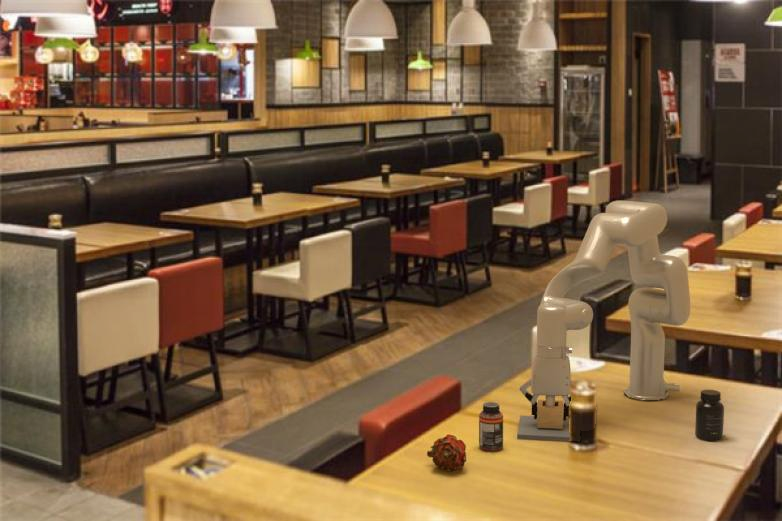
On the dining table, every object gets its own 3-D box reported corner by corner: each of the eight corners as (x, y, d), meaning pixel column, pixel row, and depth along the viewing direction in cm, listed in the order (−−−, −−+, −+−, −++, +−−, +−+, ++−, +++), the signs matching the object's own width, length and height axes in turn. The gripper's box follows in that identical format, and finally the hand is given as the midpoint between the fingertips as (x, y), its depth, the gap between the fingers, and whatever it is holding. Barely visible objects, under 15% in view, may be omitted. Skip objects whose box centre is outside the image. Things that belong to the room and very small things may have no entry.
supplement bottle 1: (486, 442, 253) (486, 399, 252) (507, 447, 250) (508, 403, 248) (474, 449, 248) (474, 405, 247) (495, 454, 245) (496, 409, 243)
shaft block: (580, 422, 269) (581, 385, 267) (581, 442, 253) (582, 403, 252) (520, 419, 271) (520, 383, 270) (517, 438, 256) (517, 400, 254)
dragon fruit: (453, 484, 230) (439, 473, 241) (481, 460, 231) (465, 450, 243) (430, 456, 228) (417, 446, 240) (459, 432, 230) (444, 423, 242)
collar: (562, 420, 265) (563, 400, 264) (562, 428, 258) (563, 408, 258) (537, 419, 266) (538, 399, 265) (537, 427, 259) (537, 407, 259)
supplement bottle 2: (690, 433, 259) (692, 388, 258) (716, 432, 260) (718, 387, 258) (700, 442, 253) (702, 396, 251) (727, 441, 253) (729, 395, 251)
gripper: (585, 349, 261) (583, 415, 264) (518, 347, 264) (517, 412, 267) (585, 356, 254) (584, 424, 257) (516, 354, 257) (515, 421, 260)
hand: (550, 417), depth 262 cm, fingers open, 6 cm apart
